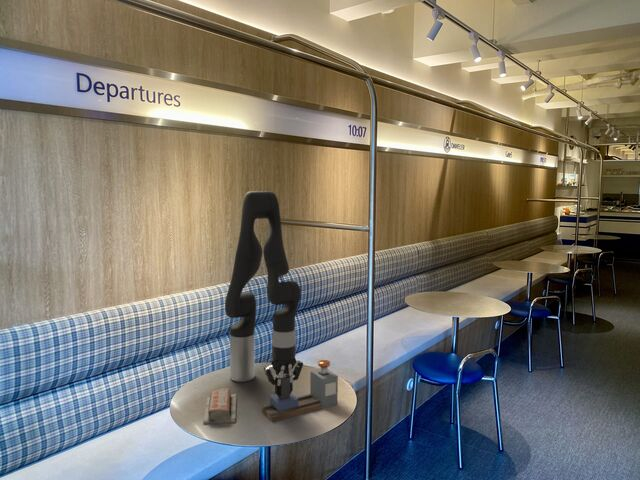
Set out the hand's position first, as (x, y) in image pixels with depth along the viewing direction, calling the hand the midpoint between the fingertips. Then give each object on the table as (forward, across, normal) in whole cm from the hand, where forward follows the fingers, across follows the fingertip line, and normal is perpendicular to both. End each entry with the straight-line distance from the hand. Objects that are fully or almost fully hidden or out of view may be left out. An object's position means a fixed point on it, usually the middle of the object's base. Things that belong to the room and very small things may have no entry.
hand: (283, 393), depth 154 cm
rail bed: (+6, -3, 0) cm, 7 cm away
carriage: (+4, 0, 0) cm, 4 cm away
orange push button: (-2, -15, 0) cm, 16 cm away
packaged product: (+7, +17, -12) cm, 22 cm away
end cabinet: (+6, -15, 0) cm, 17 cm away
